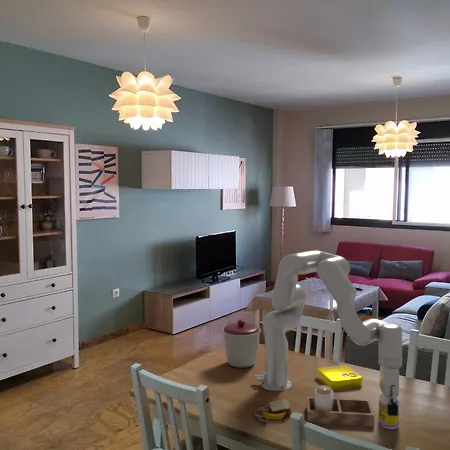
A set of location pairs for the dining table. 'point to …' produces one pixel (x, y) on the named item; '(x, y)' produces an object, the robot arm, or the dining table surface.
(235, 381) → the dining table surface
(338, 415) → the crate
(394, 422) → the supplement bottle
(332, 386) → the element tile
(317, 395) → the jar
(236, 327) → the canister
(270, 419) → the toy sandwich meal
